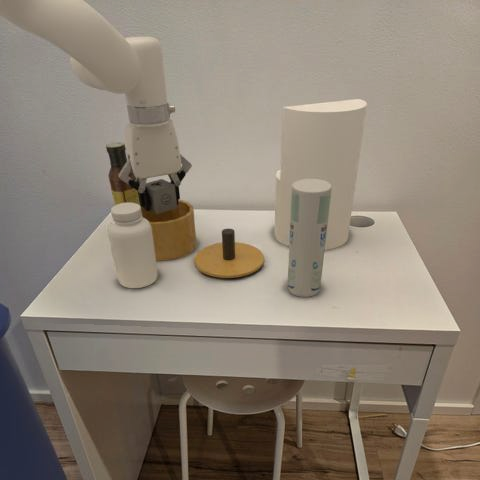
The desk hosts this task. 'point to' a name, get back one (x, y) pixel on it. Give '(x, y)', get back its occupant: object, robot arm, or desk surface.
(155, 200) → the dice cube
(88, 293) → the desk surface
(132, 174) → the sauce bottle
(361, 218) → the desk surface
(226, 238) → the tan wooden disc
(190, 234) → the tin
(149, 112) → the robot arm
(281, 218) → the cylinder
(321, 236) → the spray can
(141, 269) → the pill bottle
